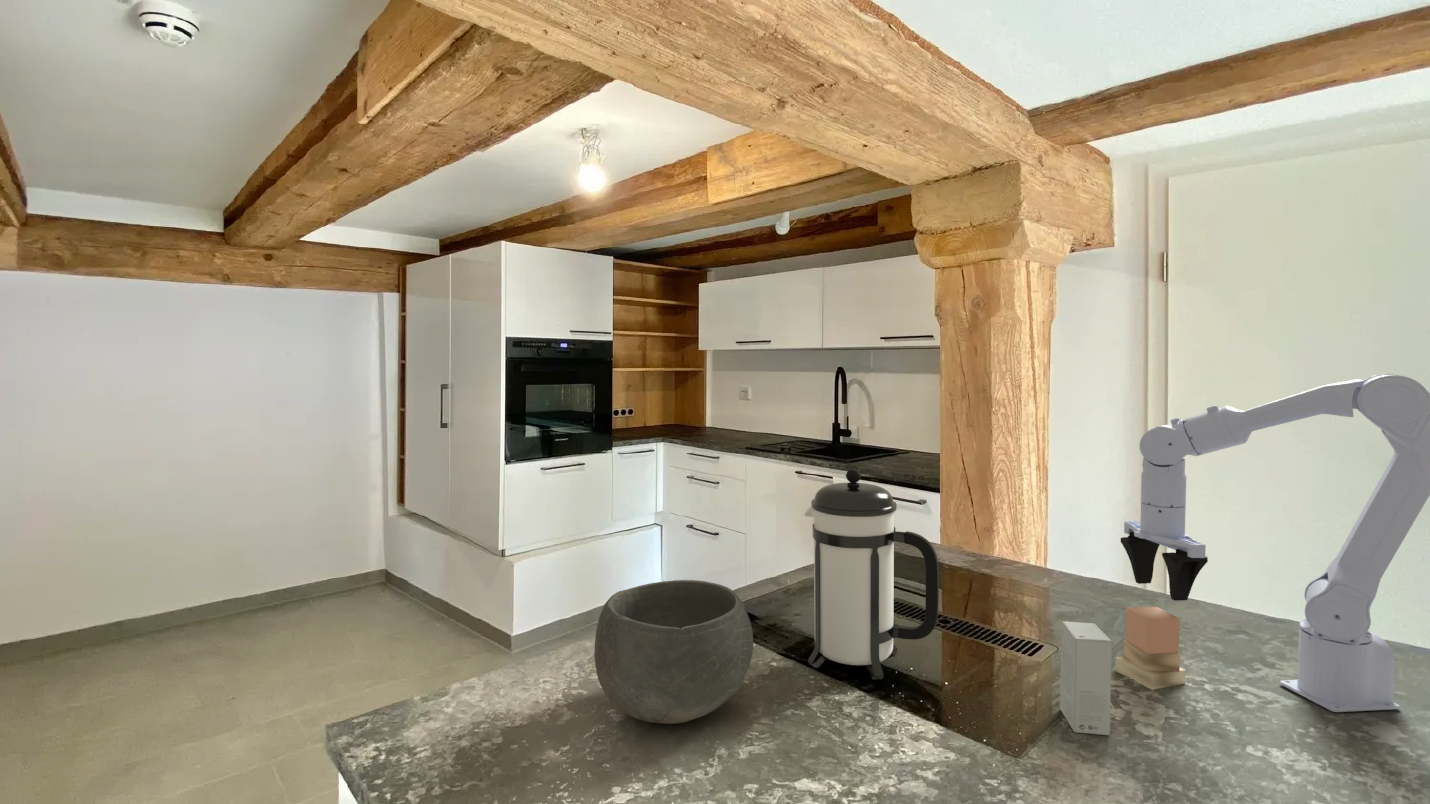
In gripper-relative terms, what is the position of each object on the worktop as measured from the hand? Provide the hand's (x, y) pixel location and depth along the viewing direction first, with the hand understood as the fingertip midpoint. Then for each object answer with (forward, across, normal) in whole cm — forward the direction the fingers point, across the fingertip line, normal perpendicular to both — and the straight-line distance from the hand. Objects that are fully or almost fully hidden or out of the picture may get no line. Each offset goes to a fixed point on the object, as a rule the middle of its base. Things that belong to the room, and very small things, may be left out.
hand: (1160, 591), depth 103 cm
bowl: (+11, +9, -75) cm, 76 cm away
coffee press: (+11, -3, -46) cm, 47 cm away
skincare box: (+11, +17, -23) cm, 31 cm away
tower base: (+11, +6, -6) cm, 14 cm away
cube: (+6, +6, -6) cm, 10 cm away
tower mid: (+8, +6, -6) cm, 12 cm away
